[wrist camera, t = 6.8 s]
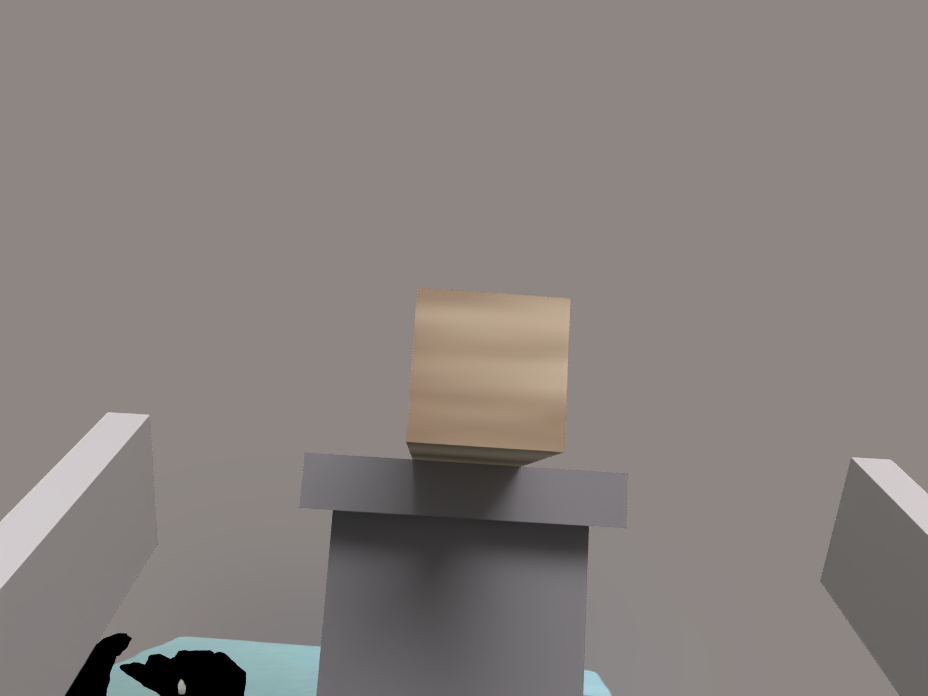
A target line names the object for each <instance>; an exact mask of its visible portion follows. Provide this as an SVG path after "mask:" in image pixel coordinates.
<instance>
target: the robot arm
mask: <svg viewBox="0 0 928 696" xmlns="http://www.w3.org/2000/svg"><path fill="white" fill-rule="evenodd" d="M157 545H158V540H157V523H156V507H155V490H154V475H153V457H152V440H151V423H150V415H144V414H128V413H111V412H108V413H107V414H106V415H105V416H104V417H103V418H102V419H101V420H100V421H99V422H98V423H97V424H96V425H95V426H94V427H93V428H92V429H91V430H90V431H89V432H88V433H87V434H86V435H85V436H84V437H83V438H82V439H81V440H80V441H79V442H78V443H77V445H75V446H74V448H72V450H70V451H69V452H68V453H67V454H66V455H65V456H64V457H63V459H62V460H61V461H60V462H59V463H58V464H57V465H56V466H55V467H54V468H53V469H52V470H51V471H50V472H49V473H48V474H47V475H46V476H45V477H44V478H43V479H42V480H41V481H40V482H39V483H38V484H37V485H36V486H35V487H34V488H33V489H32V490H31V491H30V492H29V493H28V494H27V495H26V496H25V497H24V498H23V499H22V500H21V501H20V502H19V503H18V504H17V505H16V507H14V508H13V509H12V510H11V511H10V512H9V513H8V514H7V515H6V517H4V519H3V520H2V521H1V522H0V696H65V694H66V693H67V691H68V689H69V688H70V686H71V685H72V683H73V681H74V680H75V678H76V676H77V675H78V673H79V671H80V670H81V668H82V667H83V665H84V663H85V662H86V660H87V658H88V657H89V655H90V654H91V652H92V650H93V649H94V647H95V645H96V644H97V642H98V641H99V639H100V637H101V636H102V634H103V632H104V631H105V629H106V628H107V626H108V624H109V623H110V621H111V619H112V618H113V616H114V615H115V613H116V611H117V610H118V608H119V606H120V605H121V603H122V602H123V600H124V598H125V597H126V595H127V593H128V592H129V590H130V589H131V587H132V585H133V583H134V582H135V580H136V578H137V577H138V576H139V574H140V572H141V570H142V569H143V567H144V566H145V564H146V563H147V561H148V559H149V558H150V556H151V554H152V553H153V551H154V550H155V548H156V546H157ZM820 582H821V583H822V584H823V586H824V587H825V589H826V590H827V592H828V593H829V595H830V596H831V597H832V599H833V600H834V602H835V603H836V604H837V606H838V608H839V609H840V610H841V612H842V613H843V615H844V616H845V618H846V619H847V620H848V622H849V623H850V625H851V626H852V628H853V629H854V631H855V632H856V633H857V635H858V636H859V638H860V639H861V641H862V642H863V643H864V645H865V646H866V648H867V649H868V651H869V652H870V653H871V655H872V657H873V658H874V659H875V661H876V662H877V664H878V665H879V667H880V668H881V669H882V671H883V672H884V674H885V675H886V676H887V678H888V679H889V681H890V682H891V684H892V685H893V687H894V688H895V690H896V691H897V693H898V694H899V695H900V696H928V494H927V493H926V492H925V491H924V490H923V489H922V488H921V487H920V486H919V485H918V484H917V483H916V482H914V481H913V480H912V479H911V478H910V477H909V476H908V475H907V474H906V473H905V472H904V471H903V470H902V469H900V468H899V467H898V466H897V465H896V464H895V463H894V462H892V460H886V459H870V458H853V457H851V460H850V464H849V468H848V473H847V476H846V481H845V484H844V488H843V493H842V497H841V500H840V504H839V509H838V513H837V516H836V520H835V524H834V528H833V532H832V536H831V540H830V544H829V549H828V553H827V556H826V560H825V565H824V568H823V572H822V576H821V580H820Z"/></svg>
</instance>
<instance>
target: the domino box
mask: <svg viewBox="0 0 928 696" xmlns="http://www.w3.org/2000/svg"><path fill="white" fill-rule="evenodd" d="M569 320H570V298H556V297H542V296H528V295H513V294H500V293H486V292H471V291H458V290H443V289H430V288H418V290H417V303H416V316H415V329H414V330H415V331H414V344H413V356H412V370H411V383H410V397H409V410H408V411H409V412H408V424H407V437H406V443H407V445H408V448H409V451H410V454H411V456H412V459H413V460H426V461H441V462H457V463H472V464H488V465H503V466H519V467H521V466H524V465H527V464H530V463H533V462H536V461H539V460H542V459H545V458H548V457H551V456H554V455H557V454H560V453H563V452H564V447H565V446H564V445H565V420H566V396H567V370H568V346H569V345H568V344H569Z"/></svg>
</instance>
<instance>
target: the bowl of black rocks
mask: <svg viewBox="0 0 928 696" xmlns="http://www.w3.org/2000/svg"><path fill="white" fill-rule="evenodd" d="M131 639H132V638H131V637H129V636H127V634H124V633H117V634H115V635H112V636H110V637H106V638H104V639H103V640H101V641H100V642H99V643H98V644H96V645H95V647H94V649H93V650H92V652H91V654H90V655H89V657H88V658H87V660H86V662H85V663H84V665H83V667H82V668H81V670H80V671H79V673H78V675H77V676H76V678H75V680H74V681H73V683H72V685H71V686H70V688H69V689H68V691H67V693H66V694H65V696H106V693H107V688H108V684H109V682H110V672H111V669H112V666H113V664H114V662H115V659H116V656H119V655H120V654H121V653H122V651H124V650H125V649H126V648H127V647H128V644H129V642H130V641H131ZM120 669H121V670H122V671H124V672H125V673H126V674H127V675H129V676H131V677H133V678H134V679H135V680H137V681H138V682H140V683H142V685H143V686H144V687H147V688H149V689H151V690H153V691H155V692H157V693H158V694H159V695H160V696H244V691H245V686H246V672H245V671H244V670H242V669H241V668H240V667H239V666H237V665H236V663H235V662H233V661H232V660H231V659H230V658H229V657H228V656H227V655H226V654H224V653H222V652H217V653H215V654H214V653H213V652H212V651H210V650H208V651H204V650H203V651H197V650H195V651H187V650H182V651H178V653H177V655H176V656H175V657H173V658H171V659H169V658H167V657H165V656H163V655H161V654H154V655H150V656H149V657H148V661H147V662H146V664H145V665H144V664H141V663H138V662H137V663H135V662H133V663H131V664H123V665H121V666H120ZM180 680H183V682H184V684H185V686H186V691H185V694H179V690H178V683H179V681H180Z"/></svg>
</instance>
